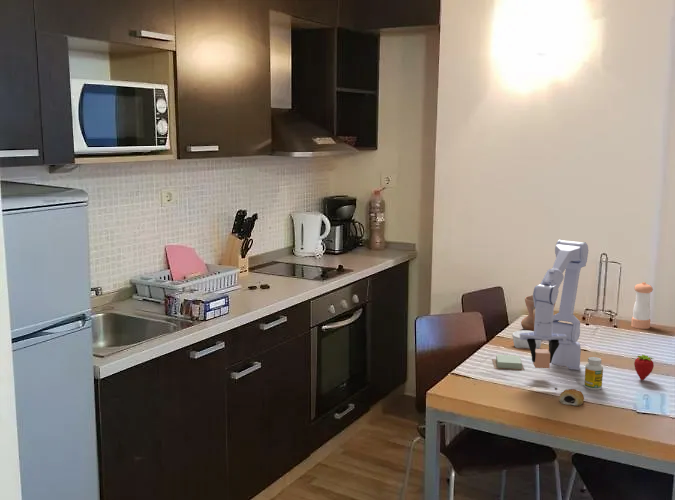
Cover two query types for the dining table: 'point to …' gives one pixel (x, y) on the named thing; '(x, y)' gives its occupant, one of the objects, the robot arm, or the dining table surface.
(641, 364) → the strawberry
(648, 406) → the dining table surface
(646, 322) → the pepper shaker
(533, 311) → the ceramic jug
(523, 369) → the tower base
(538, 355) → the terracotta block
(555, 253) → the robot arm
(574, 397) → the pastry
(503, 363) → the tower top
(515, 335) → the ramekin
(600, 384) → the supplement bottle
